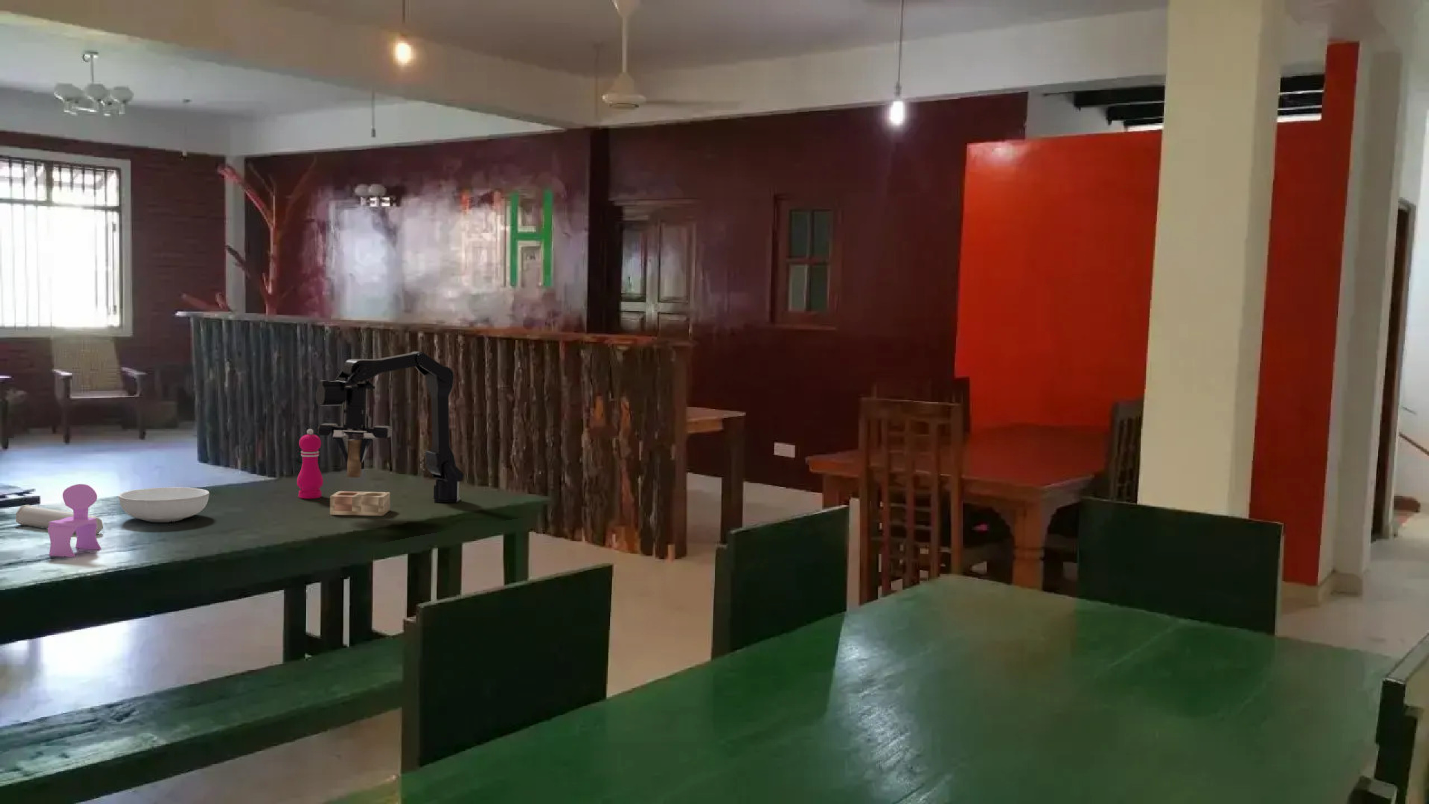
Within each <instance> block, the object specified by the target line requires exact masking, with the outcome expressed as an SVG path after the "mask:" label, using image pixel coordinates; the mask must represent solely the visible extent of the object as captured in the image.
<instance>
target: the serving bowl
mask: <svg viewBox="0 0 1429 804" xmlns="http://www.w3.org/2000/svg"><path fill="white" fill-rule="evenodd" d="M209 498H210V492H209V490H206V489H201V488H195V487H151V488H142V489H141V488H140V489H133V490H128V491H124V492H122V493H119V495H118V501H119V504H120V507H121V508H122V510H123V512H125V514H127V515H128V516H130V517H131V518H135V519H138V520H143V521H146V522H150V523H169V522H171V521H172V522H177V521H183V519H187V518H189V517H193V516H194V515H197V514H199V513H200V512H202V511H203V510H204V508H205V507H206V506H207V505H208V501H209Z"/></svg>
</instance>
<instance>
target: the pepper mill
mask: <svg viewBox="0 0 1429 804" xmlns="http://www.w3.org/2000/svg"><path fill="white" fill-rule="evenodd" d="M298 444H299V445H298V446H299V448H300V449H301V451H300V456H301V457H302V463H301V469H300V471H299V473H298V475H297V478H296V485H297V487H298V488H299V489H300V490H299V491H298V498H300V499H305V500H308V499H311V500H312V499H319V498H321V497H322V490H321V487H322V486H323V485H324V479H323V475H322V472H321V470H320V468H319V467H320V466H319V461H318V458H319V456H320V451H319V449H320V448H321V446H322V440H321V438H320V437H319V435H316V434H314V430H313V429H312V428H309V429H307V430H306V434H304V435H303V436H301V438H300V439H299V441H298Z"/></svg>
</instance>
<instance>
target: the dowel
mask: <svg viewBox="0 0 1429 804" xmlns="http://www.w3.org/2000/svg"><path fill="white" fill-rule="evenodd" d="M360 451H361V439H348V459H347V462H346V463H347V464H346V465H347V466H346V469H347V470H346V477H347V478H360V477H361V476H362V462H360Z"/></svg>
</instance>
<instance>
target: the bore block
mask: <svg viewBox="0 0 1429 804" xmlns="http://www.w3.org/2000/svg"><path fill="white" fill-rule="evenodd" d="M390 498H391V493H390V491H389V492H385V491H383V492H382V491H349V490H348V491H345V490H344V491H343V490H339V491H337V492H334V493H333V494H332V495H330V497H329V515H334V516H335V515H337V516H339V515H340V516H381V517H382V516H384V515H385V514H387V513H388V512H389V511H391V507H390V506H391V504H390V502H391V499H390Z"/></svg>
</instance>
